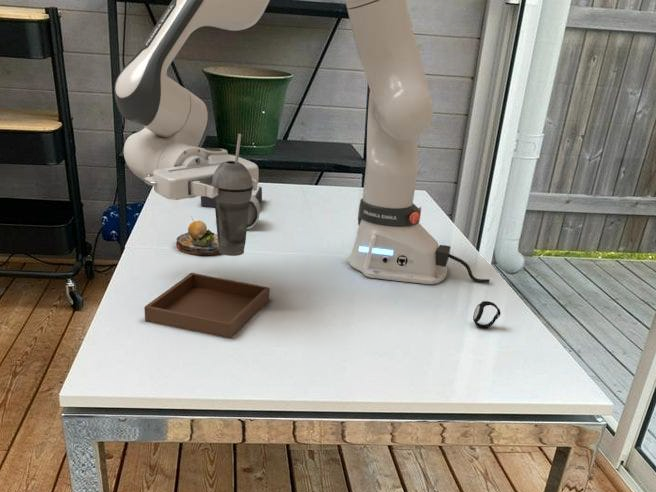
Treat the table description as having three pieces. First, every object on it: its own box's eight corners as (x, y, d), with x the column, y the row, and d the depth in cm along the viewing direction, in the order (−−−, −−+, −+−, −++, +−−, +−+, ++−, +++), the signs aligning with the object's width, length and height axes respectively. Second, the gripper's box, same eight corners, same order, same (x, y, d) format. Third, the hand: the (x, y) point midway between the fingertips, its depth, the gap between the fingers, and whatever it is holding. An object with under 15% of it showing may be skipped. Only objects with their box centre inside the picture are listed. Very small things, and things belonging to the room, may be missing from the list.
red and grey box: (207, 181, 209) (262, 184, 209) (208, 198, 212) (262, 200, 211) (199, 192, 200) (256, 194, 200) (201, 208, 203) (257, 211, 202)
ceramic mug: (260, 221, 195) (261, 190, 191) (258, 231, 189) (259, 199, 184) (219, 219, 195) (218, 187, 191) (215, 228, 188) (215, 196, 184)
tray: (269, 300, 152) (270, 287, 151) (231, 338, 137) (231, 324, 135) (191, 285, 156) (191, 272, 154) (145, 321, 140) (144, 306, 138)
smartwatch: (473, 321, 152) (478, 297, 149) (499, 327, 150) (504, 303, 147) (468, 328, 149) (473, 303, 146) (493, 334, 147) (499, 309, 144)
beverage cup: (211, 244, 142) (211, 127, 130) (251, 245, 142) (254, 130, 131) (210, 257, 136) (210, 136, 124) (252, 259, 137) (255, 139, 125)
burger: (233, 255, 173) (234, 221, 169) (182, 257, 169) (181, 223, 165) (221, 238, 182) (221, 206, 178) (171, 239, 179) (170, 207, 174)
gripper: (137, 159, 132) (186, 177, 124) (229, 147, 144) (279, 163, 137) (139, 197, 135) (187, 217, 128) (229, 182, 148) (277, 199, 140)
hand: (235, 189), depth 132 cm, fingers closed on beverage cup, 7 cm apart
